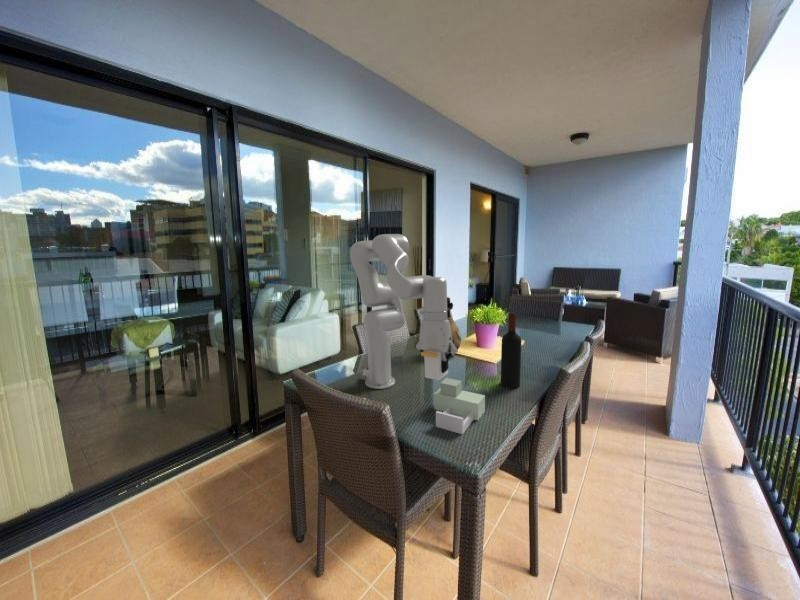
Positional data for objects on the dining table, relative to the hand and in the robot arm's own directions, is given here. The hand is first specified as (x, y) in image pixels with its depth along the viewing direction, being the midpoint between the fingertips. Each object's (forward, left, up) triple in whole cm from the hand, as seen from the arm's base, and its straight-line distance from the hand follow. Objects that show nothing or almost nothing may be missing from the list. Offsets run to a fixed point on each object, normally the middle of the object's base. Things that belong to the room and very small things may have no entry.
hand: (436, 369), depth 112 cm
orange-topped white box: (0, 0, -2) cm, 2 cm away
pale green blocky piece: (+5, +4, -17) cm, 18 cm away
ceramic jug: (-24, +61, -17) cm, 68 cm away
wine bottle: (+15, +38, -17) cm, 44 cm away
